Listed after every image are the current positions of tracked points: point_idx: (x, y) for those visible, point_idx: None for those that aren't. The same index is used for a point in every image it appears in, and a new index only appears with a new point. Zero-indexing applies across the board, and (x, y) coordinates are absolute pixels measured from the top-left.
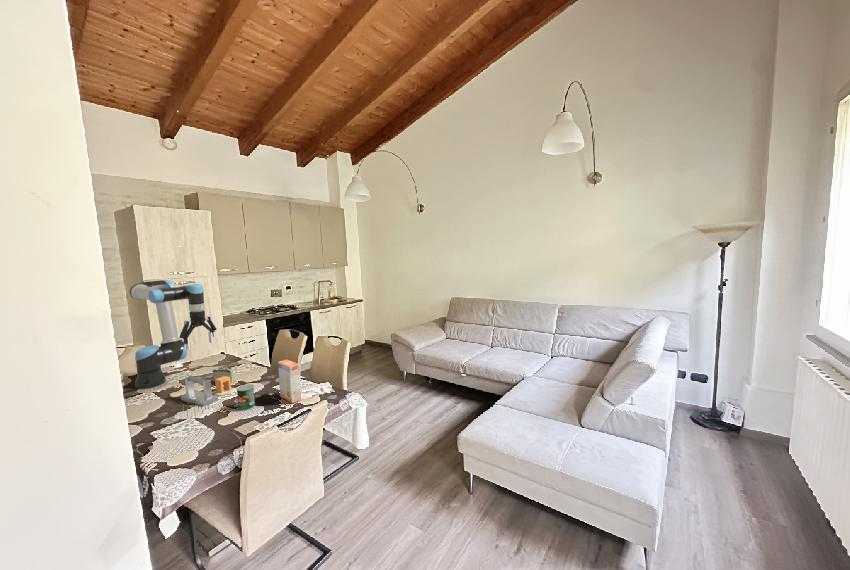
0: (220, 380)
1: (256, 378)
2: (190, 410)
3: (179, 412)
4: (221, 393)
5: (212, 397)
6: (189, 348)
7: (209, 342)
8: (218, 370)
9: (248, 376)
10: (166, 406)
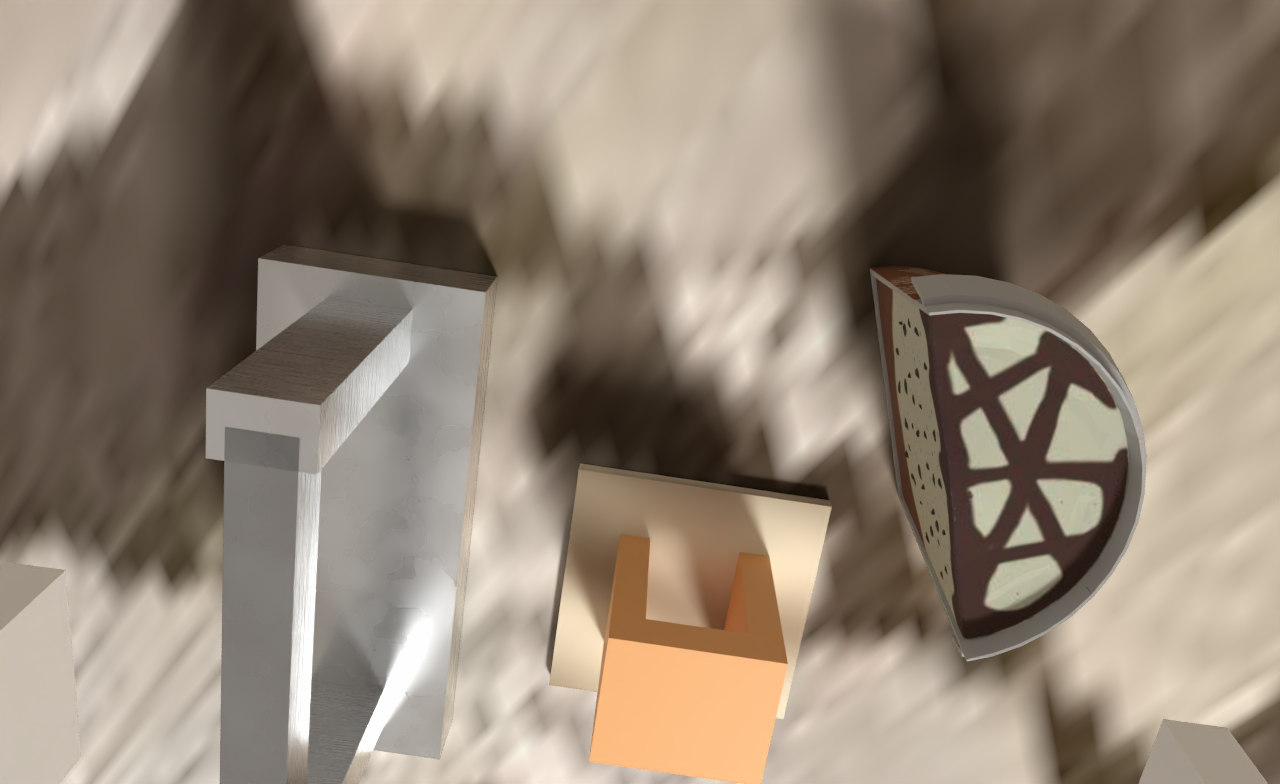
0: (603, 744)
1: (1199, 680)
2: (139, 634)
3: (50, 559)
4: (596, 643)
5: (383, 733)
6: (33, 781)
7: (1152, 759)
8: (942, 421)
9: (1271, 512)
10: (67, 240)
